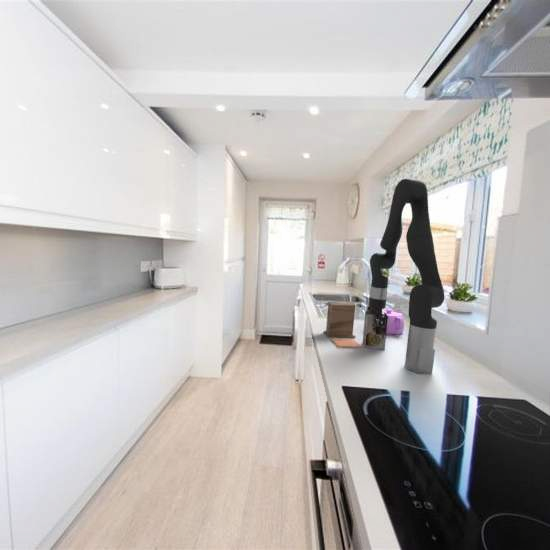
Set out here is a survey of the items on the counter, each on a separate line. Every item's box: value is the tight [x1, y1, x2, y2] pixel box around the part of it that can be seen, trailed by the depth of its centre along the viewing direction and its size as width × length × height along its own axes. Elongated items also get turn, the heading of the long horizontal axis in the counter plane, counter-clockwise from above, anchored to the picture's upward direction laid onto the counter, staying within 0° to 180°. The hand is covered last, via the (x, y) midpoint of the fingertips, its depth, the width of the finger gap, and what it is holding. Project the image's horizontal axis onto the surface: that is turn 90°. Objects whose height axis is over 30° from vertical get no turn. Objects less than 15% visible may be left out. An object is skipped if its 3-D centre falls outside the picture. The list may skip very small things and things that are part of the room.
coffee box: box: [362, 310, 388, 351], centre depth 139 cm, size 9×6×16 cm
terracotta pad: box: [330, 338, 363, 349], centre depth 141 cm, size 11×11×1 cm
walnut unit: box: [323, 301, 356, 339], centre depth 153 cm, size 8×14×16 cm, turn 97°
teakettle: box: [382, 308, 405, 336], centre depth 168 cm, size 17×17×12 cm
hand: (373, 331), depth 139 cm, fingers open, 8 cm apart
